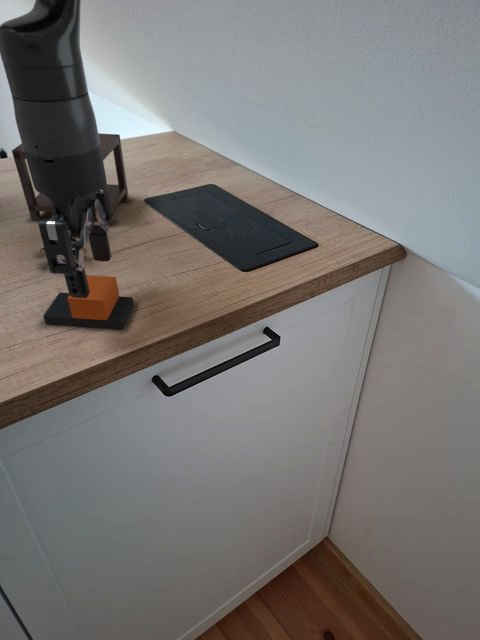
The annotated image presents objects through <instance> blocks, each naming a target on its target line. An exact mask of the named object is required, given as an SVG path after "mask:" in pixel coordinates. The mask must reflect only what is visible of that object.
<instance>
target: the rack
mask: <svg viewBox="0 0 480 640" xmlns="http://www.w3.org/2000/svg"><path fill="white" fill-rule="evenodd" d="M98 135H99V140H100V146H101V151H102V157H103V161H104V160H105V159H106V158H107V157H108V156H109V155H110V154H111V153H112V152H113V158H114V163H115V171H116V178H117V183H118V184H111V183H110V184H108V181H107V180H106V188H107V193H108V198H109V203H110V207H111V212H112V213H113V212H114V211H115V210H116V208H117V206H118V205H119V204H120V203H126V204H127V203H129V201H130V197H129V191H128V184H127V177H126V176H127V175H126V169H125V161H124V155H123V150H122V149H123V148H122V143H121V135H120V134H119V133H117V134H116V133H99V132H98ZM11 154H12V157H13V160H14V163H15V164H14V165H15V167H16V170H17V174H18V178H19V181H20V186H21V188H22V191H23V195H24V199H25V201H26V206H27V209H28V212H29V216H30V219H31V222H39V221H40V220H42V216H41V213H40V212H44V213H45V212H46V213H47V212H48V213H52V202H51V200H50V199H49V198H47V197H46V196H44V195H42V194H40V193H38V195H36V194H35V191H34V186H33V182H32V178H31V175H30V171H29V167H28V164H27V160H26V156H25V152H24V149H23V145H22V143H20V144H19V145H18V146H16V147H15V148H13V149H11ZM100 207H101V208H102V210H103V211H104V209H103V206H102V205H100ZM107 223H108V225H109V227H113V225H114V217H113V215H112V221H111V222H109V221H108V222H107Z"/></svg>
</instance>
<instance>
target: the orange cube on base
mask: <svg viewBox="0 0 480 640" xmlns="http://www.w3.org/2000/svg"><path fill="white" fill-rule="evenodd" d="M86 277H87V282H88V286H89V290H90V294H89V295H88V297H87V298H74V297H71V296H70V294H69V292H62V291H61V292H58V294H57V296H56V297H55V298H54V300H53V301H52V303H51V304H50V305H49V307H48V308H47V309H46V311H45V312H44V314H43V316H42V317H43V320H44V323H45V325H46V326H47V325H48V326H49V325H50V326H63V327H76V328H89V329H90V328H91V329H103V330H105V329H106V330H118V331H119V330H121V331H122V330H124V328H125V326H126V324H127V322H128V319H129V317H130V315H131V313H132V311H133V309H134V307H135V302H134V297H133V296H120V292H119V286H118V280H117V277H116V276H107V275H91V274H86Z"/></svg>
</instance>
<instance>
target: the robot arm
mask: <svg viewBox="0 0 480 640" xmlns="http://www.w3.org/2000/svg"><path fill="white" fill-rule="evenodd" d="M81 3H82V0H35V2H34V5H33V7H32V8H31V10H30V11H29V12H27V13H25V14H23V15H20V16H17V17H14V18H11V19H8V20H6V21H4V22H2V23H1V24H0V59H1V63H2V66H3V69H4V72H5V76H6V79H7V84H8V86H9V90H10V91H9V92H10V93H11V99H12V102H13V103H12V104H13V111H14V118H15V123H16V127H17V130H18V134H19V138H20V142H21V144H22V145H23V149H24V152H25V156H26V159H25V161H26V164H27V168H28V172H29V175H30V179H31V182H32V186H33V189H35V191H36V192H38V194H42V195H44V196H46V197H47V198H49V199H50V200H51V202H52V212H51V218H50V219H40V220H39V221H38V229H39V233H40V237H41V240H42V246H43V248H44V249H45V250H44V249H43V250H44V253H45V257H46V261H47V265H48V268H49V269H48V270H49V272H50V274H54V275H57V274H59V275H64V279H65V284H66V286H67V291H68V293H69V294H70V296H71V297H74V298H87V297H88V295H89V294H90V290H89V286H88V282H87V277H86V275H87V273H86V270H85V267H84V263H85V262H84V261H85V252H86V251H88V250H89V245H90V250H91V254H92V258H93V259H94V261H96V262H109V261H110V260H111V258H112V251H111V246H110V241H109V236H108V233H109V231H110V226H109V225H108V223H107V222H108V221H109V222H111V221H112V216H113V212H111V207H110V203H109V198H108V193H107V188H106V181H107V174H106V169H105V163H104V160H103V157H102V151H101V146H100V140H99V135H98V133H99V129H98V125H97V119H96V115H95V110H94V108H93V104H92V101H91V98H90V94H89V91H88V90H89V89H88V82H87V78H86V72H85V67H84V62H83V57H82V56H83V55H82V50H81V7H82V5H81ZM100 205H102V206H103V209H104V211H103V210H102V208H101V207H100ZM70 238H75V239H78V240H77V242H71V240H70ZM73 250H75V251H76V252H75V256H74V254H73ZM56 255H57V256H56Z"/></svg>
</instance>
